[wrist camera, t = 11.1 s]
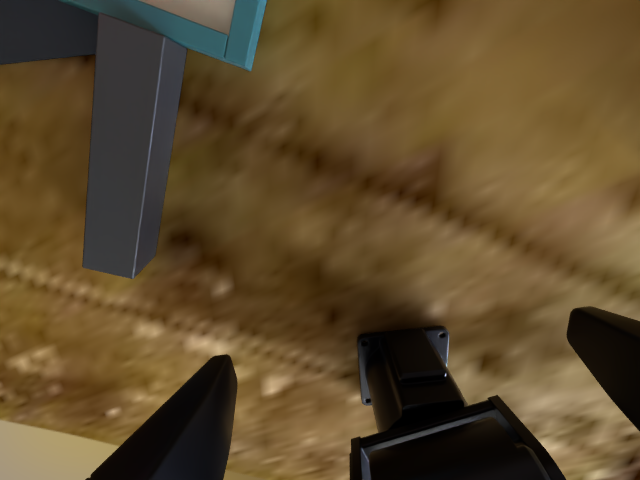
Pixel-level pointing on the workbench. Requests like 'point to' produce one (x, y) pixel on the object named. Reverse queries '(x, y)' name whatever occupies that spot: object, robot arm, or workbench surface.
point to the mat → (45, 31)
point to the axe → (146, 112)
